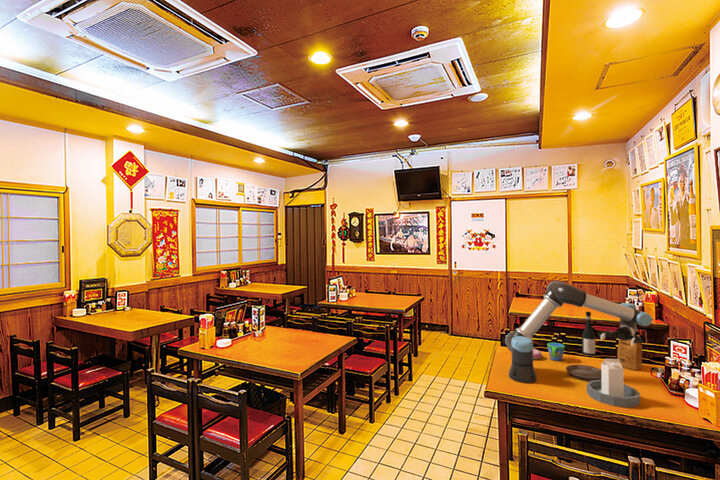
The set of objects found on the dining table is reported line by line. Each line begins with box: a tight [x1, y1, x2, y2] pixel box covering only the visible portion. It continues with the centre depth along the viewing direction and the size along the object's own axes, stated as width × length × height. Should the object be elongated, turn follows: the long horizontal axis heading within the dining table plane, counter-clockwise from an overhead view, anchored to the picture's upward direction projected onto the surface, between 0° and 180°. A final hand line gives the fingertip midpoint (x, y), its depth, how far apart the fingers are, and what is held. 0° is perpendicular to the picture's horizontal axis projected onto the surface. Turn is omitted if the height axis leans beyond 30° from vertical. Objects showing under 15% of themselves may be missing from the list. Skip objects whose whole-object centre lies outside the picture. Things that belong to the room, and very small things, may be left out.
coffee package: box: [616, 334, 643, 371], centre depth 228 cm, size 10×12×22 cm
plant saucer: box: [565, 364, 601, 382], centre depth 215 cm, size 21×21×3 cm
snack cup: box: [547, 342, 566, 362], centre depth 244 cm, size 16×11×10 cm
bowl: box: [586, 380, 641, 408], centre depth 186 cm, size 22×22×4 cm
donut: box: [533, 348, 543, 360], centre depth 250 cm, size 14×13×5 cm
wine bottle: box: [581, 311, 596, 356], centre depth 254 cm, size 8×8×30 cm
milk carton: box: [600, 358, 625, 397], centre depth 187 cm, size 7×7×19 cm
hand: (616, 340), depth 193 cm, fingers open, 13 cm apart
